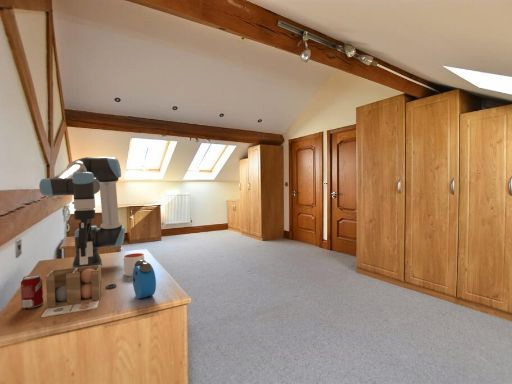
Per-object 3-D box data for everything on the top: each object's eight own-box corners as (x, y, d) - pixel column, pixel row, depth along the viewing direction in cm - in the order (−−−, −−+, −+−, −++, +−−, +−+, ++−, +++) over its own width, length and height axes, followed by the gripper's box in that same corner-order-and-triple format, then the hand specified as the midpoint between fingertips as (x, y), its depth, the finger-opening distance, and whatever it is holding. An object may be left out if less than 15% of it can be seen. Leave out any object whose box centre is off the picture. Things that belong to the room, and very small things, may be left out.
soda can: (31, 310, 110) (30, 279, 109) (17, 309, 111) (15, 278, 111) (47, 303, 116) (46, 274, 116) (34, 302, 118) (32, 273, 117)
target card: (46, 309, 110) (46, 308, 110) (99, 301, 117) (99, 300, 117) (40, 317, 104) (40, 315, 104) (96, 308, 110) (96, 306, 110)
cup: (131, 278, 146) (131, 258, 146) (120, 275, 151) (119, 256, 151) (148, 272, 154) (148, 254, 154) (136, 270, 160) (136, 252, 159)
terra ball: (95, 285, 122) (98, 272, 126) (95, 278, 118) (98, 265, 122) (79, 285, 120) (83, 272, 124) (78, 278, 116) (82, 265, 120)
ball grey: (57, 299, 118) (56, 285, 118) (74, 297, 121) (73, 282, 121) (53, 305, 113) (52, 290, 113) (71, 302, 115) (70, 287, 115)
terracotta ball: (81, 294, 122) (79, 281, 120) (97, 291, 124) (96, 279, 123) (78, 302, 116) (77, 289, 115) (95, 299, 119) (94, 287, 117)
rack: (53, 300, 119) (52, 270, 119) (101, 293, 126) (100, 264, 126) (47, 308, 111) (45, 276, 110) (99, 300, 118) (98, 270, 117)
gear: (106, 286, 134) (106, 284, 134) (116, 285, 136) (116, 283, 136) (105, 289, 130) (105, 287, 130) (115, 288, 132) (115, 286, 132)
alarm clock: (156, 299, 118) (155, 263, 117) (141, 303, 114) (140, 266, 114) (146, 290, 128) (145, 257, 128) (132, 294, 124) (131, 259, 124)
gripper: (79, 207, 129) (81, 254, 130) (67, 212, 106) (69, 269, 107) (98, 207, 132) (100, 252, 133) (90, 211, 109) (92, 266, 110)
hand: (86, 260), depth 120 cm, fingers open, 13 cm apart
